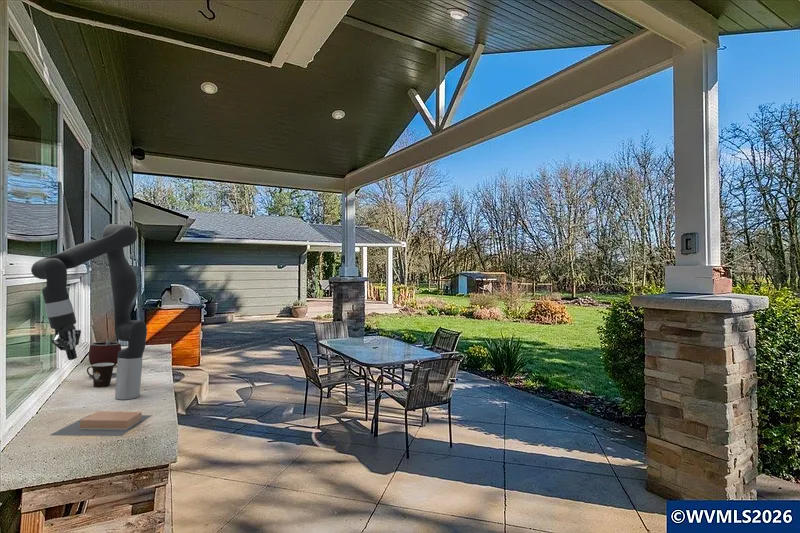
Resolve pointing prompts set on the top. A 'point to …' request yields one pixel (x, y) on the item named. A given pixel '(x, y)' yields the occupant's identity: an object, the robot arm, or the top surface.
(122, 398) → the robot arm
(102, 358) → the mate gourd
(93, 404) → the top surface
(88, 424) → the tile
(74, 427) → the mat
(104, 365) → the coffee mug
